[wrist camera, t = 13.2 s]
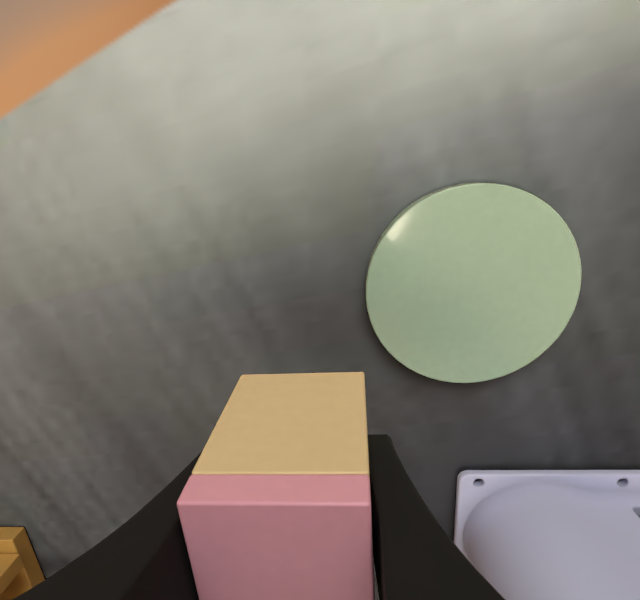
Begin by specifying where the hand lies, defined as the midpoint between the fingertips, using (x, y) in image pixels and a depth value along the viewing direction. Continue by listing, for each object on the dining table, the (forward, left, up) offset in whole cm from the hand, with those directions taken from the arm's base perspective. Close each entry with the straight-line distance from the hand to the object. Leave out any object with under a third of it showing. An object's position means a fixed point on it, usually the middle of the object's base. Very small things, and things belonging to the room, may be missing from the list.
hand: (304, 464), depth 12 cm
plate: (-7, -3, -8) cm, 11 cm away
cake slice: (0, 0, -2) cm, 2 cm away
